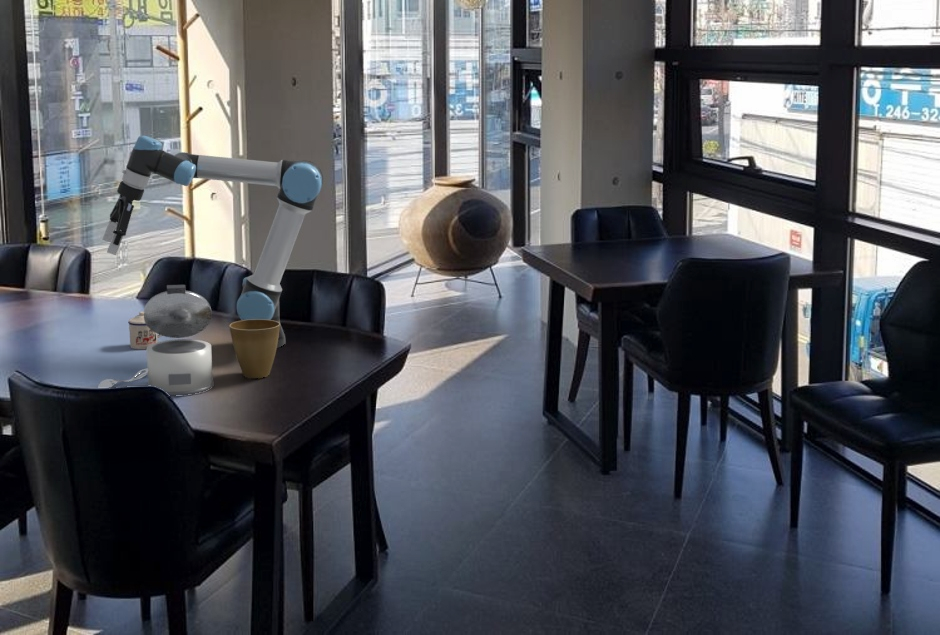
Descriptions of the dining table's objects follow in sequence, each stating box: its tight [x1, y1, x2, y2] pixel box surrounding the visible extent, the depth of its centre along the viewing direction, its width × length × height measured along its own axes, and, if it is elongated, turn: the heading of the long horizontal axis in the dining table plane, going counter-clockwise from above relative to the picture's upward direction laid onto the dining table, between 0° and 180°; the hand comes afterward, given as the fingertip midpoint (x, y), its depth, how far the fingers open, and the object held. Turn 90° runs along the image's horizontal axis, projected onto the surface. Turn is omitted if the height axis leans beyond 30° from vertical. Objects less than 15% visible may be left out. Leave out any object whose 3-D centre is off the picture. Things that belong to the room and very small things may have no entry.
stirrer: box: [97, 368, 148, 388], centre depth 323 cm, size 20×4×5 cm
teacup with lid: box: [128, 311, 163, 351], centre depth 362 cm, size 12×9×12 cm
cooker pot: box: [146, 338, 215, 397], centre depth 318 cm, size 19×19×12 cm
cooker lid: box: [143, 284, 213, 339], centre depth 318 cm, size 19×21×2 cm
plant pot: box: [229, 319, 281, 379], centre depth 330 cm, size 15×15×16 cm
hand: (108, 247), depth 343 cm, fingers open, 13 cm apart
